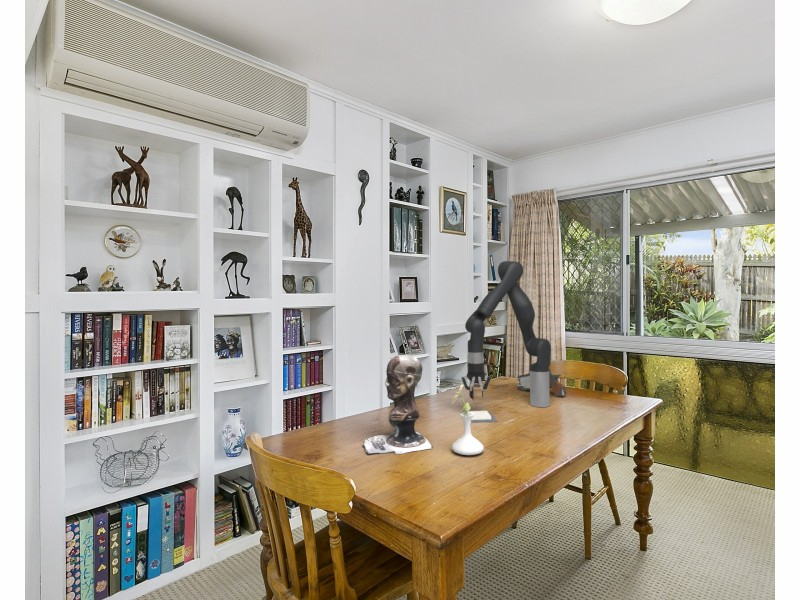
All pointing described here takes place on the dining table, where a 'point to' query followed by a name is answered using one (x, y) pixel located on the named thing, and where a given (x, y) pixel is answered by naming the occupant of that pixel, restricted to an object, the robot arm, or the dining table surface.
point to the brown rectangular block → (477, 393)
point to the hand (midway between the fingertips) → (476, 398)
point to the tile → (480, 415)
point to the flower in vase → (466, 432)
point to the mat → (487, 420)
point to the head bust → (401, 409)
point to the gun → (553, 383)
